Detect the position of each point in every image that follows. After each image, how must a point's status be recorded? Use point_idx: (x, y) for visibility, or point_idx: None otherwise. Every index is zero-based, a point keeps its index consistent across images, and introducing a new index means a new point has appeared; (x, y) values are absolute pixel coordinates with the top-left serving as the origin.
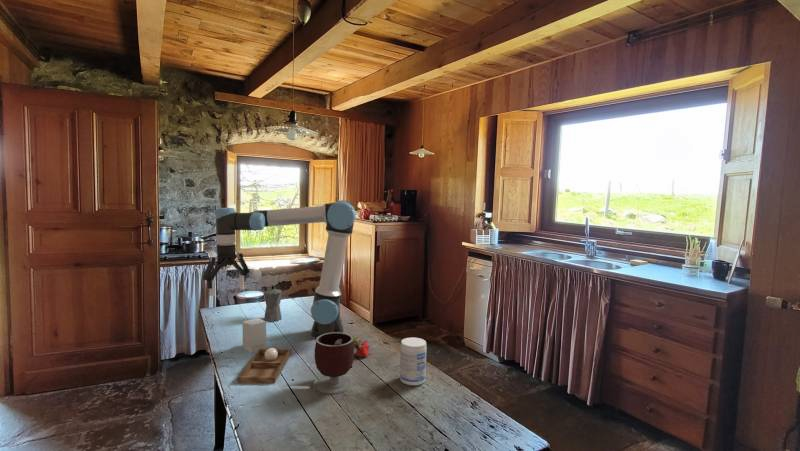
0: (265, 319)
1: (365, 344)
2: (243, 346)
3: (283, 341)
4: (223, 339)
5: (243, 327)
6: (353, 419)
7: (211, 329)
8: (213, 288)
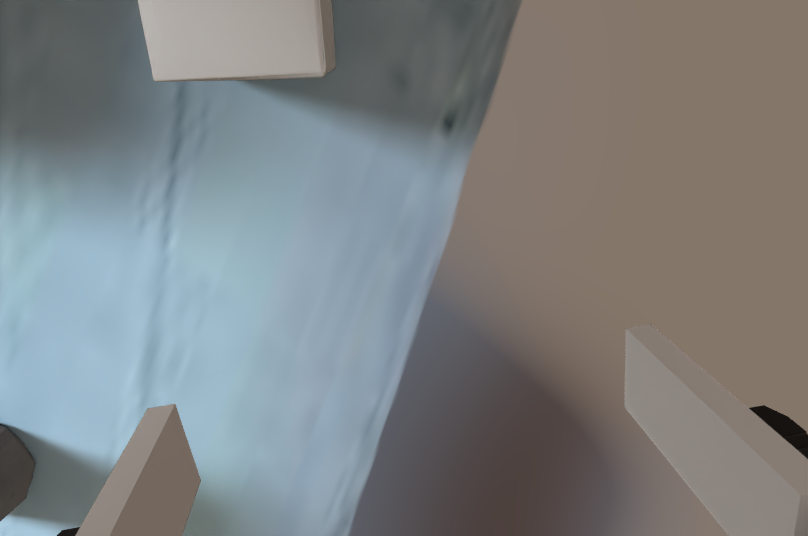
0: (25, 464)
1: None
2: (334, 55)
3: (31, 20)
4: (363, 314)
5: (328, 47)
6: None
7: (359, 492)
8: (713, 391)
